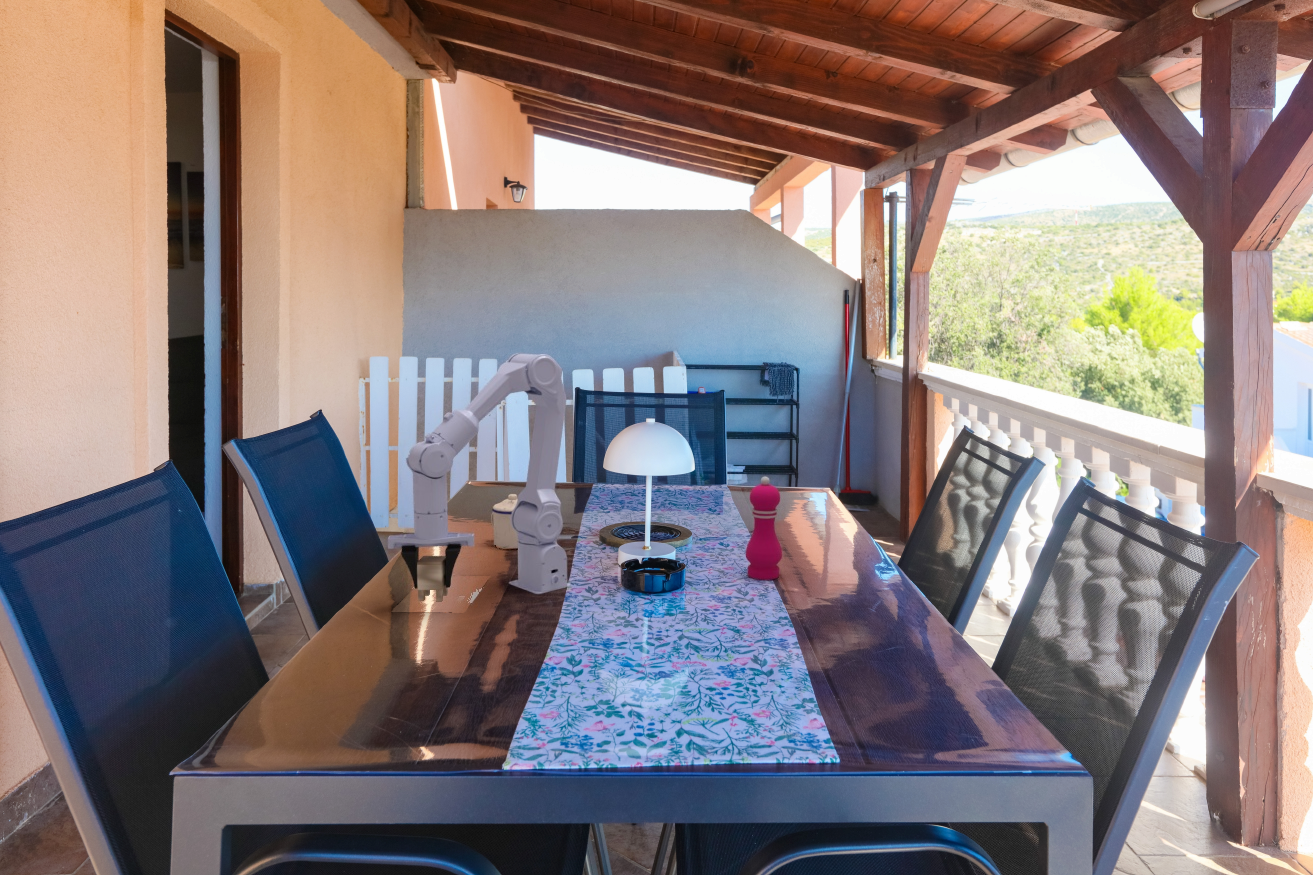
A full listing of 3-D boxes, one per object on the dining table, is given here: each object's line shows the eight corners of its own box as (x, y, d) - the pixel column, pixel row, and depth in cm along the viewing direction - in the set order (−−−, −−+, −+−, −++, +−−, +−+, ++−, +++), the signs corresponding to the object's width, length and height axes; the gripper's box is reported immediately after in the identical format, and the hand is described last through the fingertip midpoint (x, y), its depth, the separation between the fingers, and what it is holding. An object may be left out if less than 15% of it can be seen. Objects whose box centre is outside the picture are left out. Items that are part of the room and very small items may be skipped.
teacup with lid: (542, 545, 200) (541, 494, 198) (510, 552, 193) (509, 500, 191) (508, 536, 208) (507, 487, 206) (476, 543, 201) (475, 493, 199)
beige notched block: (448, 594, 158) (447, 555, 157) (441, 601, 154) (441, 562, 153) (424, 593, 158) (423, 555, 157) (417, 600, 154) (416, 561, 153)
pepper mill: (780, 581, 172) (782, 480, 170) (743, 579, 174) (745, 479, 171) (782, 571, 179) (785, 474, 177) (747, 569, 181) (748, 472, 178)
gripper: (474, 505, 159) (476, 578, 161) (391, 507, 157) (393, 581, 159) (472, 513, 152) (473, 590, 154) (384, 515, 150) (387, 593, 152)
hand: (432, 586), depth 156 cm, fingers closed on beige notched block, 5 cm apart
